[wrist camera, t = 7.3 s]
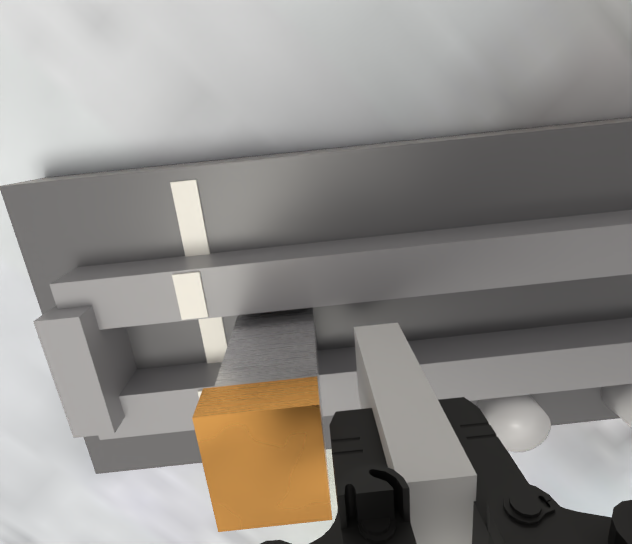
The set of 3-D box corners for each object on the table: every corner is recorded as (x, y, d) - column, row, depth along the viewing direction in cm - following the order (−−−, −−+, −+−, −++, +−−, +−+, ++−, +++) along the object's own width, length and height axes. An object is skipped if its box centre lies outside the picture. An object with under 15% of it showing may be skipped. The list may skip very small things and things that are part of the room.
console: (789, 101, 19) (998, 89, 13) (723, 368, 24) (857, 443, 18) (44, 177, 19) (-66, 198, 13) (120, 432, 23) (63, 528, 18)
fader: (310, 283, 18) (319, 404, 10) (318, 358, 19) (332, 519, 11) (239, 291, 18) (192, 418, 10) (251, 365, 19) (218, 532, 11)
